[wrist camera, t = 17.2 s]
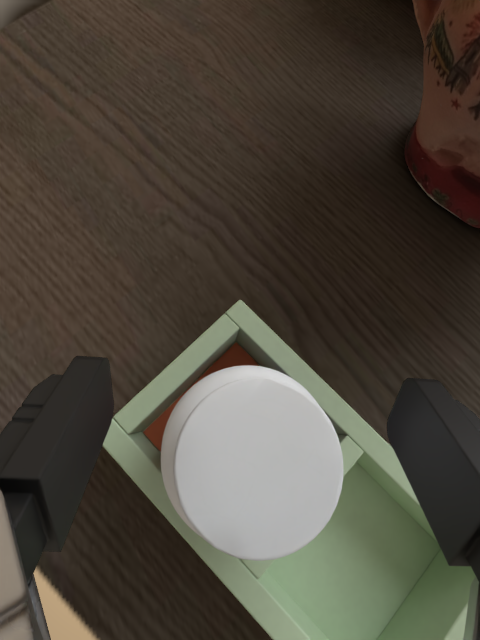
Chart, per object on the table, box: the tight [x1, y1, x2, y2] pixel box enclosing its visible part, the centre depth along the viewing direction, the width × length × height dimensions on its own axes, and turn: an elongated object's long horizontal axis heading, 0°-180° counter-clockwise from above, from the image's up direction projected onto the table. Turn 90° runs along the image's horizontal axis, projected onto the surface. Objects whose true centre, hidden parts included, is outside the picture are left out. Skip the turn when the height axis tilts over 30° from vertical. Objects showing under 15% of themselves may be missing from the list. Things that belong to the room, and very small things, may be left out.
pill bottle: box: [161, 365, 344, 561], centre depth 13 cm, size 5×5×10 cm
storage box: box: [102, 300, 476, 640], centre depth 16 cm, size 8×16×3 cm, turn 45°
